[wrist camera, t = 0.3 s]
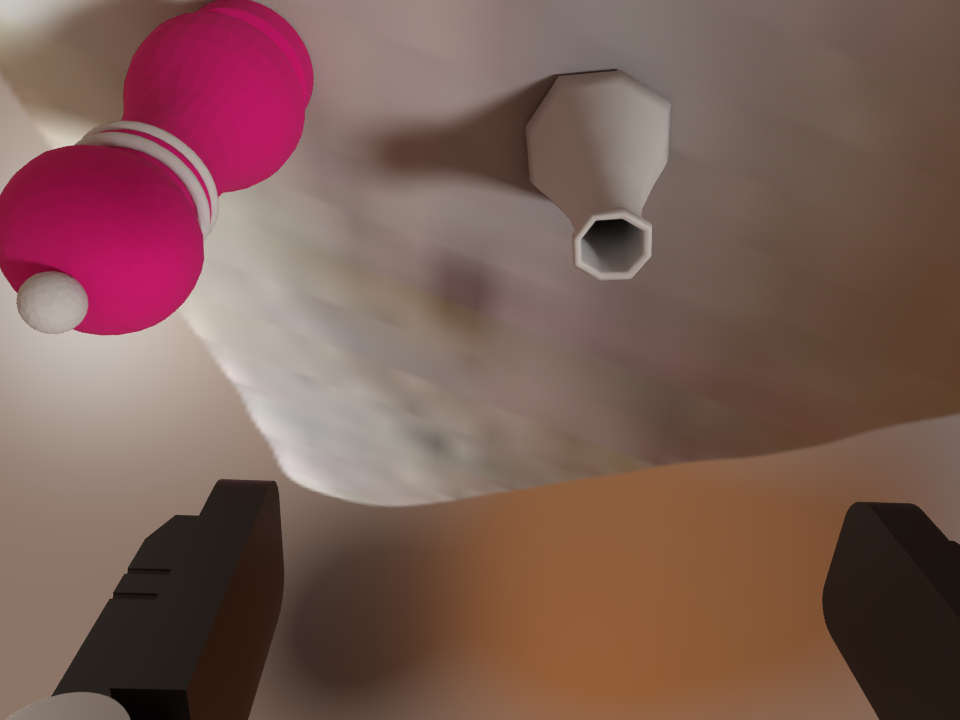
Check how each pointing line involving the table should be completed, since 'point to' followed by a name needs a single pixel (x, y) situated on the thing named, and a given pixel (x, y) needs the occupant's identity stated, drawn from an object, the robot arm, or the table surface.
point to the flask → (601, 165)
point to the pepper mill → (155, 172)
